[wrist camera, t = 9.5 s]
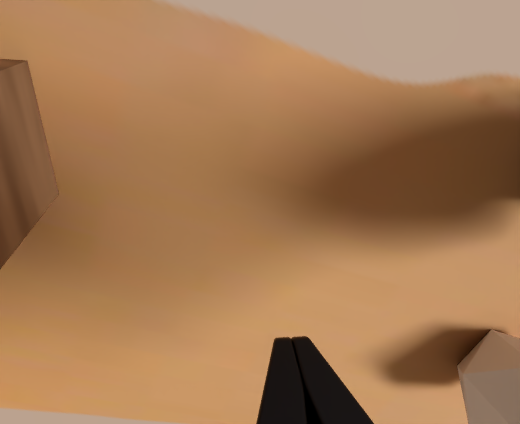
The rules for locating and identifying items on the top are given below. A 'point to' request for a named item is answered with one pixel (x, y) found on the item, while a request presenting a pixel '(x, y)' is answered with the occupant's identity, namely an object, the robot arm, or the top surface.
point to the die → (492, 380)
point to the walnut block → (21, 158)
